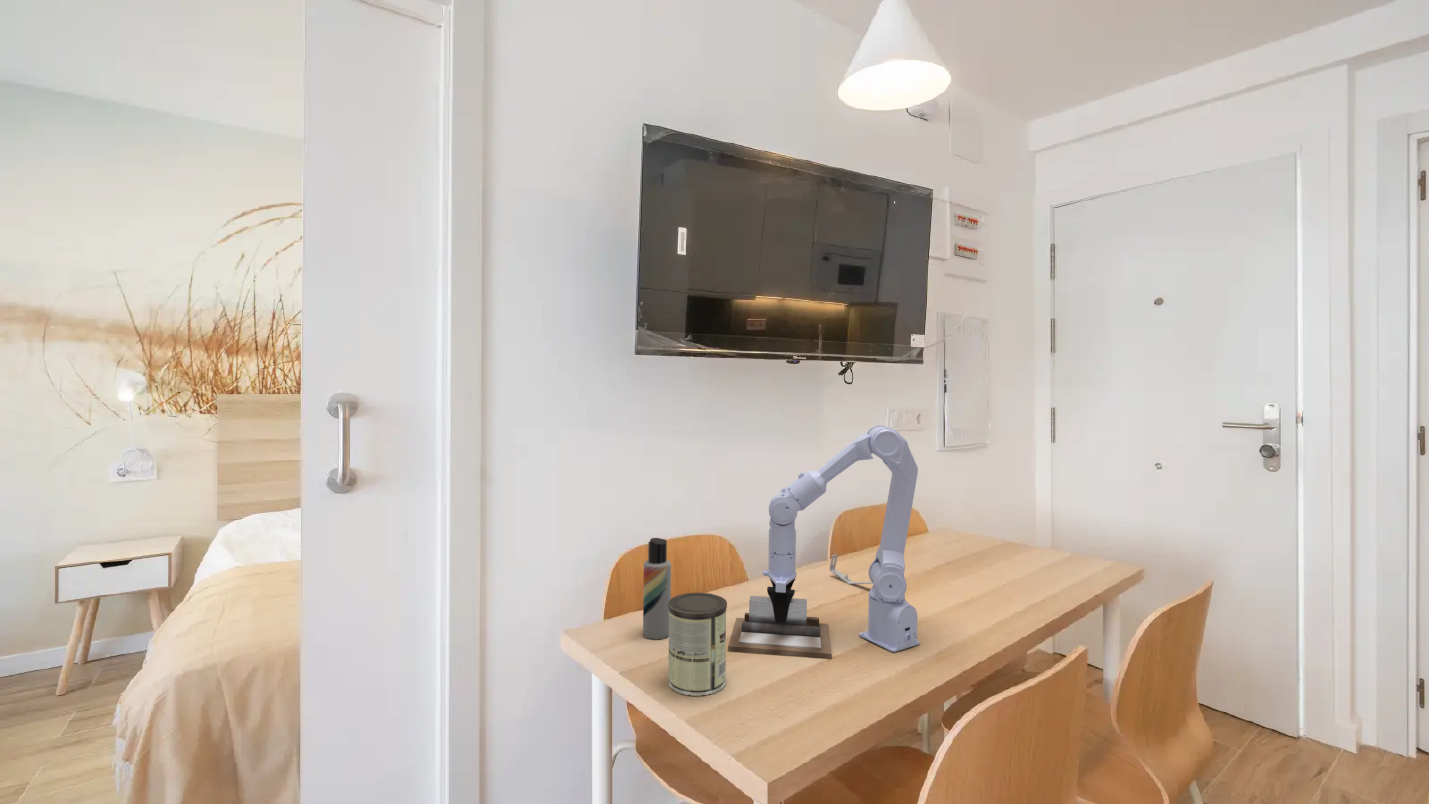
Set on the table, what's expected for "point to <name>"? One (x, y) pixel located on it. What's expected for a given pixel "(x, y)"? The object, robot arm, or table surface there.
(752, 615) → the grey speckled stone slab
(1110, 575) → the table surface
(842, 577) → the bracket
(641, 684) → the table surface
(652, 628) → the lotion bottle
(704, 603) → the coffee can
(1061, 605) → the table surface
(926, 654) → the table surface
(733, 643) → the hinge base
